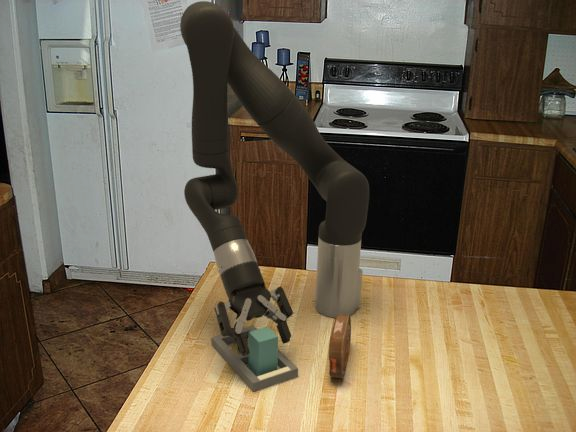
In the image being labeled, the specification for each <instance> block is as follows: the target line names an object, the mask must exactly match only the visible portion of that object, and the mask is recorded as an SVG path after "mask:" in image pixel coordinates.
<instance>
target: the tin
mask: <svg viewBox="0 0 576 432" xmlns="http://www.w3.org/2000/svg"><path fill="white" fill-rule="evenodd" d="M334 318H335V319H334V323H333V325H332V329H331V335H330V339H329V345H328V347H329V348H328V360H329V371H328V374H329V376H330V377H331V378H337V379H342V380H343V379H344V378H345V376H346V372H347V366H348V362H349V356H350V350H351V339H352V338H351V337H352V336H351V335H352V316H351V315H337V316H336V317H334Z"/></svg>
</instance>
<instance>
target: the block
mask: <svg viewBox="0 0 576 432" xmlns="http://www.w3.org/2000/svg"><path fill="white" fill-rule="evenodd" d="M248 348H249V351H250V353H249V354H248V364H247V367H248V368H249V369H250V370H251V371H252V372H253V374H254V375H255V376H256V377H257V376H260V375H263V374H266V373H269V372H272V371H275V370H278V349H279V335H277V334H276V333H275V332H274V331H273V330H272V329H271V328H270V327H269V326H265V327H261V328H257V330H254V331H250V332H249V338H248Z"/></svg>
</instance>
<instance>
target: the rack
mask: <svg viewBox="0 0 576 432" xmlns="http://www.w3.org/2000/svg"><path fill="white" fill-rule="evenodd" d="M257 329H258V328H257V327H256V326H254V324H252V325H248V326H246V327H243V329H242V332H241V333H244V336H245V339H246V340H249V332H250V331H254V330H257ZM210 342H211V343H210V344H211V346H212V347H213V348H214V350H215V351H216V352H217V353H218V354H219V356H220V357H221V358H222V359H223V360H224V361H225V362H226V364H228V365H229V366H230V368H231V369H232V370H233V371H234V373H236V374H237V376H238V378H240V379H241V380H242V381H243V383H244V384H245V385H246V386H247V387H248V388H249V389H250V390H251V391H252V393H254V392H257V391H261V390H264V389H266V388H269V387H272V386H275V385H277V384H280V383H283V382H286V381H289V380H292V379H295V378H298V377H299V367H298V366H296V364H294V363H293V362H292V361H291V360H290V359H289V357H287V356H286V355H285V354H284V353H283V352H282V351H281V350H280V349H279V348H278V365H277V367H278V368H277V370H275V371H272V372H269V373H266V374H263V375H260V376H257V377H256V376H255V375H254V374H253V372H252V371H251V370H250V369H249V368H248V355H246V356H243V355H242V353H241V354H240V353H238V354H236V353H235V352H234V351H233V350H232V348H231V347H230V346H229V345H231V344H235V341H234V338H233V337H231V336H225V337H224V336H222V335H221V333H220V334H217V335H214V336H211V337H210Z"/></svg>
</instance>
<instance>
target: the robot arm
mask: <svg viewBox="0 0 576 432" xmlns="http://www.w3.org/2000/svg"><path fill="white" fill-rule="evenodd" d="M179 28H180V35H181V37H182V40H183V42H184V44H185V46H186V48H187V53H188V57H189V62H190V67H191V68H190V69H191V74H192V75H191V76H192V87H193V89H192V91H193V94H192V96H193V97H192V108H191V109H192V110H191V151H192V152H191V153H192V161H193V163H194V164H195V165H197V167H201V168H206V169H214V170H215V174H210V175H203V176H197V177H193V178H191V179H189V180H188V181H187V182H186V183H185V186H184V192H183V193H184V199H185V202H186V204H187V206H188V208H189V209H190V211H191V212H192V214H193V216H194V217H195V218H196V219H197V221H198V223H200V226H201V227H202V229H203V230H204V232H205V233H206V236H207V237H208V240H209V243H210V246H211V249H212V252H213V256H214V260H215V264H216V268H217V272H218V274H219V277H220V279H221V281H222V284H223V288H224V291H225V294H226V296H227V299H228V301H227V302H224V301H219V302H218V303H217V304H216V305H215V306H214V312H215V316H216V320H217V322H218V323H217V324H218V327H219V330H220V334H221V335H222V336H224V337H225V336H231V337H233V338H234V341H235V343H234V344H235V347H236V349H237V353H238V354H241V353H242V355H243V356H246V355H248V354H249V353H250V351H249V344H248V342H247V339H245V336H244V333H241V332H242V329H243V328H244V325H245V322H248V321H251V320H253V319H256V318H257V319H259V318H262V317H263V316H264V317H266V319H270V320H271V321H272V322H274V323H275V324H276V328H277V329H276V330H277V332H278V336H279V337H280V340H281V343H282V344H283V345H285V344H288V343H289V342H290V341H291V338H292V333H291V331H290V328H289V325H288V322H287V320H288V319H289V318H290V317H291V316H292V315H294V311H293V308H292V306H291V304H290V301H289V299H288V297H287V295H286V292H285V291H284V288H283V287H282V286H278V287H277V288H276V289H272V290H270V291H269V289H267V287H266V283H265V279H264V276H263V273H262V272H261V268H260V266H259V263H258V260H257V258H256V254H255V252H254V250H253V248H252V245H251V244H250V242H249V240H248V237H247V235H246V232H245V229H244V227H243V224H242V222H241V219H240V218H239V216H237V215H235V214H226V213H220V212H218V211H217V210H223V209H227V208H230V207H233V206H234V205H235V203H236V202H237V200H238V198H239V188H238V184H237V181H236V178H235V175H234V171H233V168H232V167H233V166H232V164H231V159H230V154H229V153H230V151H229V150H230V149H229V147H230V146H229V145H230V144H229V141H230V140H229V139H230V138H229V137H230V136H229V134H230V133H229V118H228V117H229V112H228V111H229V110H228V109H229V107H228V86H230V88H231V90H232V92H233V94H234V95H235V96H236V98H237V99H238V102H240V104H241V105H242V107H243V108H244V109H245V110H246V112H247V113H248V115H249V117H251V119H252V120H253V121H254V122H255V124H257V126H258V127H259V128H260V129H261V130H262V131H263V132H264V134H265V135H266V136H267V137H268V138H269V139H270V140H271V141H272V142H273V143H274V144H275V145H276V146H277V147H278V148H279V149H281V150H282V152H284V153H286V155H288V156H289V157H291V159H293V160H294V161H295V162H296V164H298V165H299V167H300V168H301V169H302V170H303V172H304V173H305V175H306V176H307V177H308V179H309V180H310V181H311V183H312V184H313V186H314V188H315V189H316V191H317V192H318V194H319V195H320V197H321V198H322V199H323V200H324V201H326V208H325V209H326V210H325V220H323V221H321V222H320V224H319V225H318V226H319V227H318V242H317V243H318V245H317V262H316V264H317V265H316V278H315V279H316V280H315V281H316V283H315V303H314V307H315V310H316V311H317V312H318V313H320V314H321V315H323V316H325V317H330V318H336V316H337V315H350V316H352V315H353V314H355V312H357V310H359V309H361V307H360V306H361V299H362V284H363V282H362V281H363V269H361V268H360V262H361V249H362V248H361V247H362V235H363V232H364V231H365V228H366V226H367V218H368V211H369V204H370V184H369V181H368V179H367V177H366V176H365V175H364V173H362V172H361V171H360V170H358V169H357V168H356V167H354V166H353V165H352V164H350V163H348V161H346V160H345V159H344V158H343V157H341V156H340V155H339V154H338V153H337V152H336V151H335V150H334V149H333V148H332V147H331V146H330V145H329V144H328V143H327V141H326V140H325V139H324V138H323V136H322V135H321V133H320V132H319V129H318V127H317V125H316V123H315V121H314V119H313V118H312V116H311V114H310V113H309V111H308V110H307V108H306V107H305V106H304V105H303V103H302V102H301V101H300V99H299V98H298V97H297V96H296V95H295V93H294V92H292V91H293V90H291V89H290V87H289V86H288V85H287V84H285V82H284V81H283V80H282V79H281V78H280V77H279V76H278V75H277V74H276V73H274V71H272V69H271V68H269V66H267V65H266V64H265V63H264V62H263V61H262V60H261V59H260V58H258V56H257V55H256V54H254V52H253V51H252V50H251V49H250V47H249V46H248V45H247V43H246V42H245V41H244V39H243V38H242V37H241V35H240V34H239V32H238V31H237V29H236V28H235V25H234V22H233V20H232V18H231V16H230V15H229V14H228V13H227V11H225V9H224V8H222V7H221V6H220V5H218V4H217V3H215V2H212V1H207V0H205V1H204V0H203V1H202V0H201V1H196V2H194V3H191V4H190V5H189V6H188V7H186V9H185V10H184V12H183V13H182V16H181V19H180V26H179ZM271 298H272V300H273V301H275V302H276V305H277V306H275V305H274V304H273V303H272V302H271ZM230 310H231V311H232V312H234V313H235V314H236V315H235V318H234V322H233V326H231V322H230V319H229V315H228V313H229V311H230Z"/></svg>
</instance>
